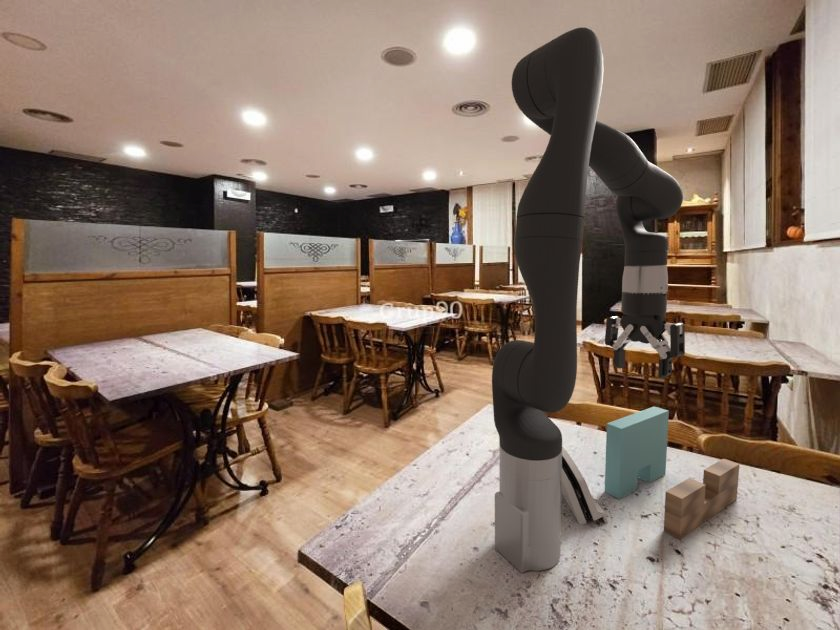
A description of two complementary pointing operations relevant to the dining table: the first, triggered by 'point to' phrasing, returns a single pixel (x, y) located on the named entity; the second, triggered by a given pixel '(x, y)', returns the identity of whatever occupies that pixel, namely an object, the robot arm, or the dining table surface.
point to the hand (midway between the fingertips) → (640, 372)
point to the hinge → (578, 492)
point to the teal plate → (635, 450)
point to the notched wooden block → (700, 498)
